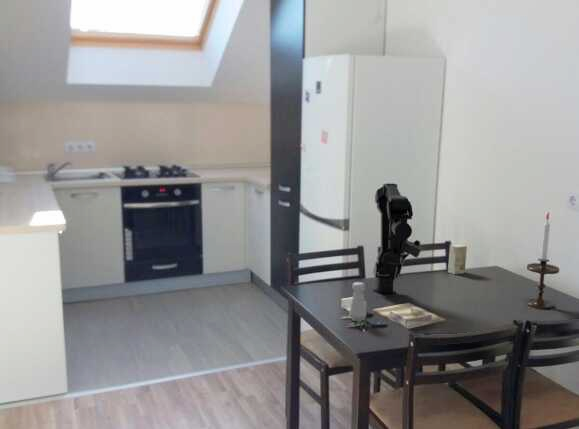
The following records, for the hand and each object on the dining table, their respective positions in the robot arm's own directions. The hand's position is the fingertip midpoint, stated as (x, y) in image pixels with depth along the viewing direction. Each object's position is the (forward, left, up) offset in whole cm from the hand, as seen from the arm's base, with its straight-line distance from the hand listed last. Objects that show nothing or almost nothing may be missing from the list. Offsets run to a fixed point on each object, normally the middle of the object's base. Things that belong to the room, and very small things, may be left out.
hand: (395, 277), depth 209 cm
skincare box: (-27, +55, -13) cm, 63 cm away
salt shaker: (+2, -17, -13) cm, 21 cm away
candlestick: (+19, +52, -13) cm, 57 cm away
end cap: (-8, -12, -12) cm, 19 cm away
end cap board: (+7, +1, -12) cm, 14 cm away
